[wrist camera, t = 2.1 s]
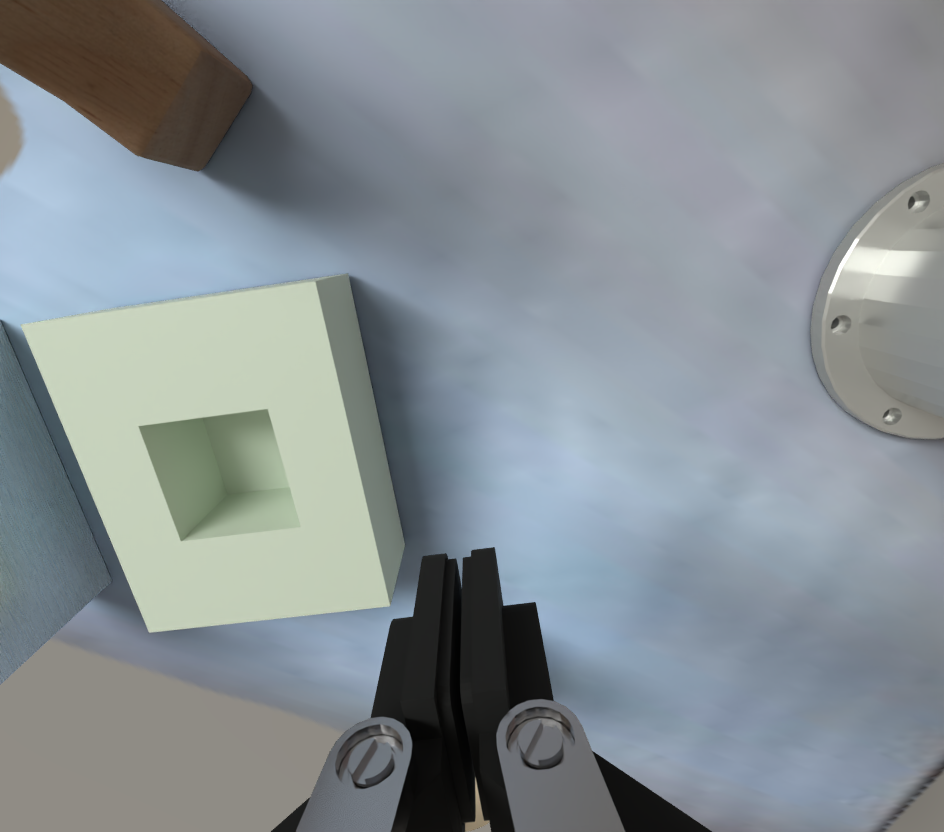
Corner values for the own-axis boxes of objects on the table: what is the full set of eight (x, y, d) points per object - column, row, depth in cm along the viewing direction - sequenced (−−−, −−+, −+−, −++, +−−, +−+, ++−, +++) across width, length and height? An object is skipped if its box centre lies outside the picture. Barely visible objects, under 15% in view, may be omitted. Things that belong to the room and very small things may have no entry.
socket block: (348, 273, 24) (315, 281, 19) (405, 545, 28) (390, 606, 23) (109, 308, 24) (20, 324, 20) (203, 568, 29) (149, 632, 24)
